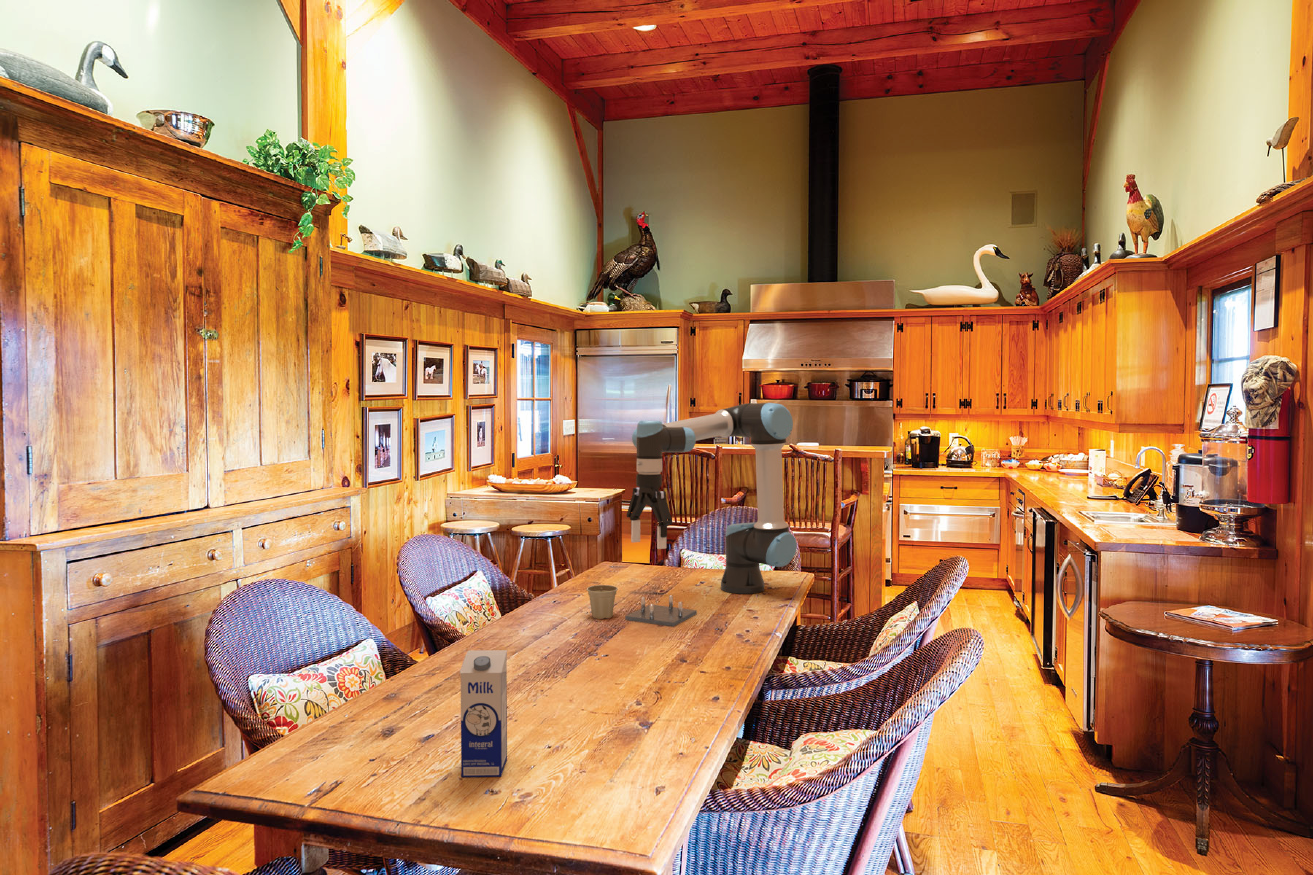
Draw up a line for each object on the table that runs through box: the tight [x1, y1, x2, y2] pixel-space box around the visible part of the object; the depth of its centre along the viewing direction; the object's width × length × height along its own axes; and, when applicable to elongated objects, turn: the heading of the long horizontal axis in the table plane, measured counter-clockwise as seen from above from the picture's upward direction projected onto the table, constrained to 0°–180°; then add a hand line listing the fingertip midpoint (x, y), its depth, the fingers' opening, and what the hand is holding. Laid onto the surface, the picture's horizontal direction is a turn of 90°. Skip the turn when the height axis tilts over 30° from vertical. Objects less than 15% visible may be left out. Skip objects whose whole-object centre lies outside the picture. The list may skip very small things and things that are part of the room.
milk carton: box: [459, 649, 508, 778], centre depth 138 cm, size 7×7×20 cm
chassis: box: [624, 594, 698, 628], centre depth 239 cm, size 16×16×5 cm
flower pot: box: [586, 584, 619, 620], centre depth 239 cm, size 9×9×9 cm
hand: (648, 545), depth 233 cm, fingers open, 13 cm apart
